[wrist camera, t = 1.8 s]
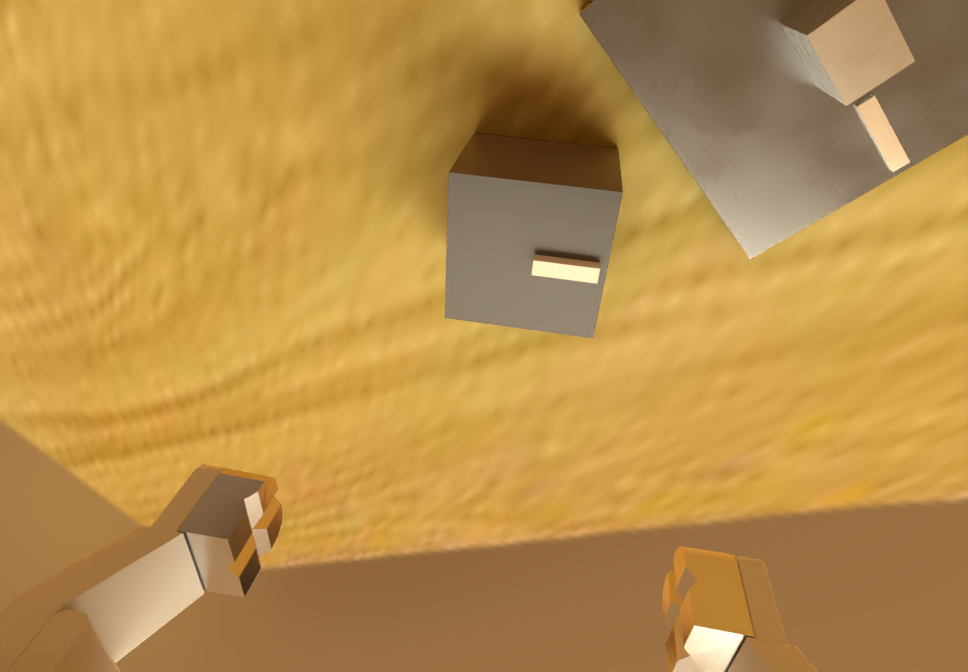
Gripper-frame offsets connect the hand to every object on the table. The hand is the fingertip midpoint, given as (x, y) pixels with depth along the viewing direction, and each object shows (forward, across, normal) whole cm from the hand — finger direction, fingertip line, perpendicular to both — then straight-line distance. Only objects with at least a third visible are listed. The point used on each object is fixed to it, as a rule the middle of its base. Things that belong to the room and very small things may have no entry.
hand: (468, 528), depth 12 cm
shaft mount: (+17, -9, -8) cm, 21 cm away
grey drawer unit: (+17, 0, 0) cm, 17 cm away
